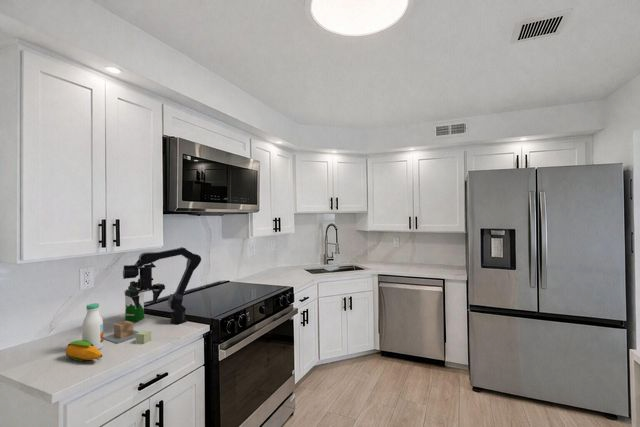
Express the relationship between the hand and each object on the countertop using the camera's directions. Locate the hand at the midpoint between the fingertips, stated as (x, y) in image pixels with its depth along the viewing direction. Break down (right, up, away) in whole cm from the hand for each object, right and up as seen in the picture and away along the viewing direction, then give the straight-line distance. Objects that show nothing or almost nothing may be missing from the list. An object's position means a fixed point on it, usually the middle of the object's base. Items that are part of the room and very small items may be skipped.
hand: (145, 306), depth 170 cm
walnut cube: (-5, -11, -11) cm, 17 cm away
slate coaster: (-5, -12, -11) cm, 17 cm away
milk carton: (-14, -12, +14) cm, 23 cm away
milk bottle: (-10, -12, -25) cm, 30 cm away
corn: (-6, -12, -36) cm, 38 cm away
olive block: (+8, -12, -18) cm, 23 cm away
